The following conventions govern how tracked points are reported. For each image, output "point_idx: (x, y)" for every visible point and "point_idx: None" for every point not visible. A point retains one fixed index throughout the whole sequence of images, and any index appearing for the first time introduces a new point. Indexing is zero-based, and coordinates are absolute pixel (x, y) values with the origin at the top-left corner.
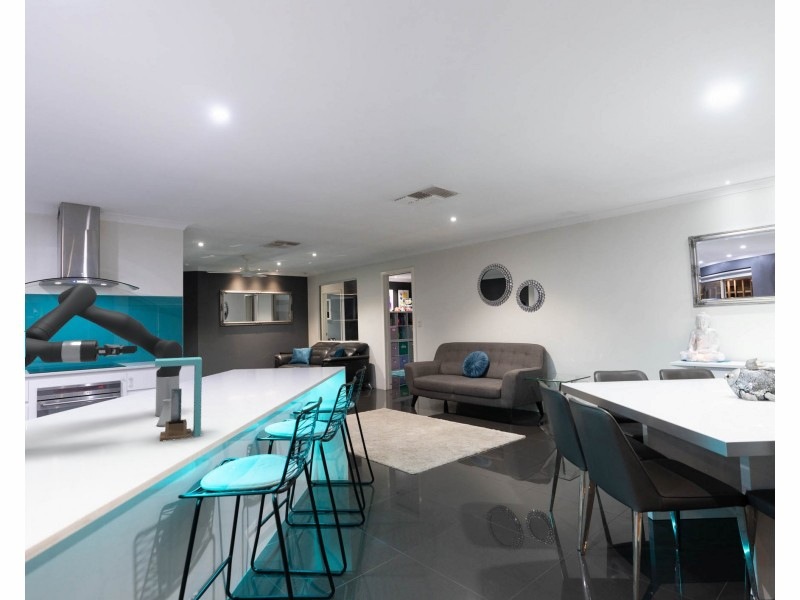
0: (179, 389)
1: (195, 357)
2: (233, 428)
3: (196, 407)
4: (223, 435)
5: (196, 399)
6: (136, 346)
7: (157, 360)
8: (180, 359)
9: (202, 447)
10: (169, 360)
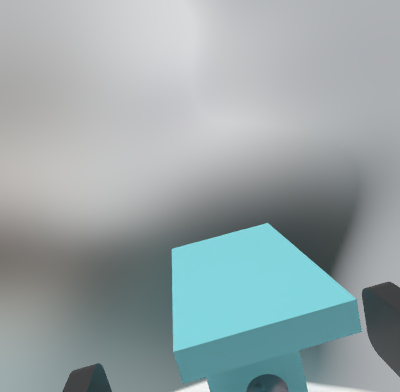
0: (278, 377)
1: (181, 252)
2: None
3: (304, 377)
4: (308, 385)
5: (299, 355)
6: (98, 369)
7: (301, 306)
8: (261, 256)
9: None
10: (309, 267)
